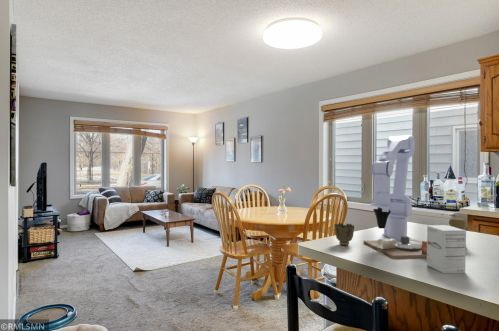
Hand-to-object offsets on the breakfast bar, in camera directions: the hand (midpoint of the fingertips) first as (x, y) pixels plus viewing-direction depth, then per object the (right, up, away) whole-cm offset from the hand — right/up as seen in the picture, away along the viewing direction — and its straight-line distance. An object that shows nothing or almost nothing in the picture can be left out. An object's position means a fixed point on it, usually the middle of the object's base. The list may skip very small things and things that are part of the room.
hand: (381, 228), depth 117 cm
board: (+7, -7, -4) cm, 11 cm away
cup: (-14, -7, +2) cm, 16 cm away
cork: (+29, -7, 0) cm, 30 cm away
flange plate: (+4, -6, -4) cm, 9 cm away
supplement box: (+9, -8, -25) cm, 27 cm away
